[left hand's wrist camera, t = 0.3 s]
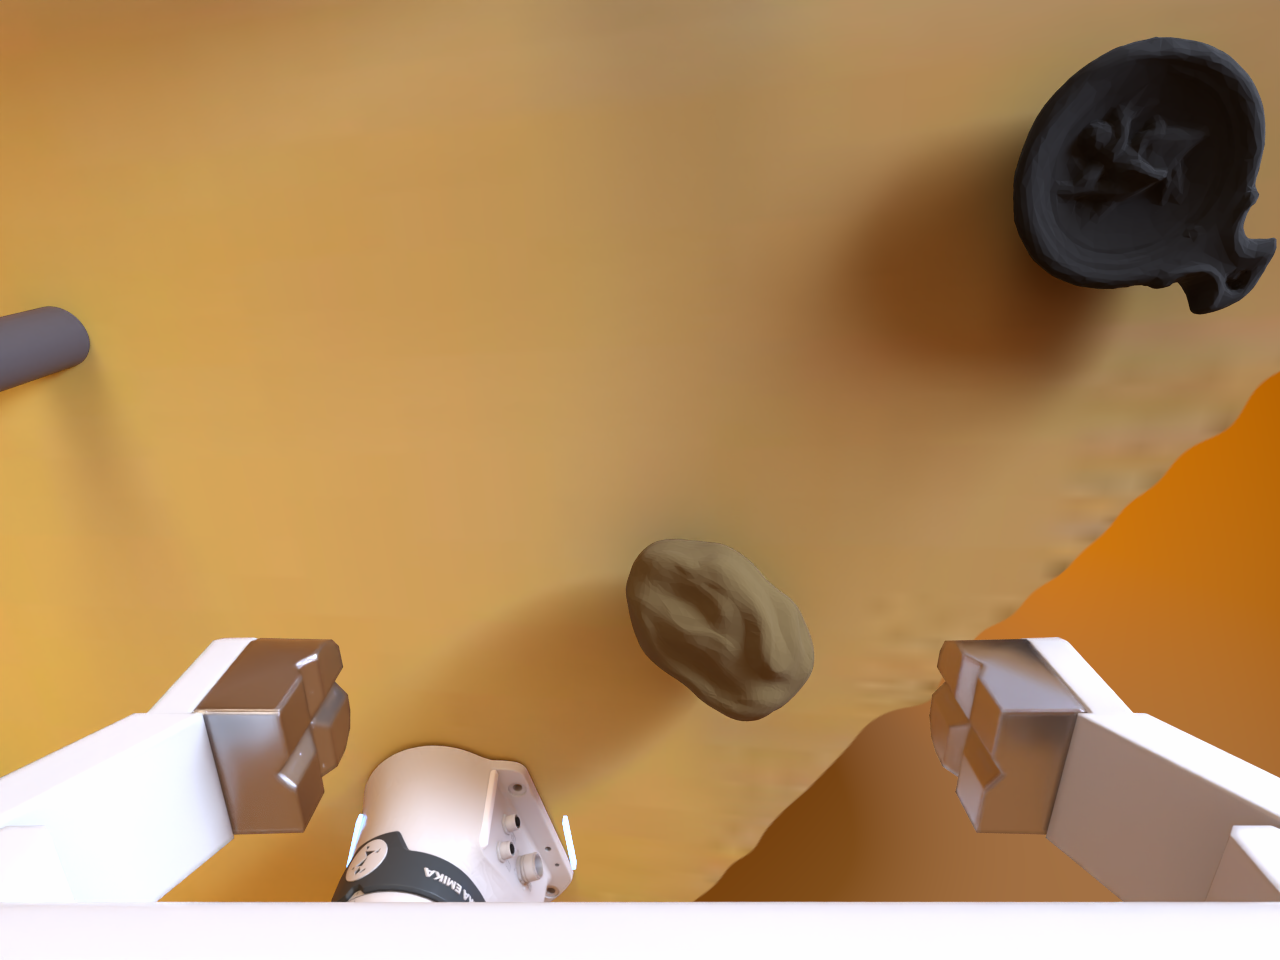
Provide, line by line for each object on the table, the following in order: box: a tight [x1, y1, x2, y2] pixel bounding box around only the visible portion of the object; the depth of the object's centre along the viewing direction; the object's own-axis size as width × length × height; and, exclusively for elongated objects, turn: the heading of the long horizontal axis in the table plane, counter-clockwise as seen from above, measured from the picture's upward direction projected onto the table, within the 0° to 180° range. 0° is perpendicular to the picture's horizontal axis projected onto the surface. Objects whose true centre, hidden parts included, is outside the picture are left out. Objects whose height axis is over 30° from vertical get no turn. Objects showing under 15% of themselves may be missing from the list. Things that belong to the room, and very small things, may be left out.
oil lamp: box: [1013, 37, 1276, 314], centre depth 51 cm, size 15×20×5 cm
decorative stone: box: [626, 539, 814, 721], centre depth 60 cm, size 17×11×10 cm, turn 49°
